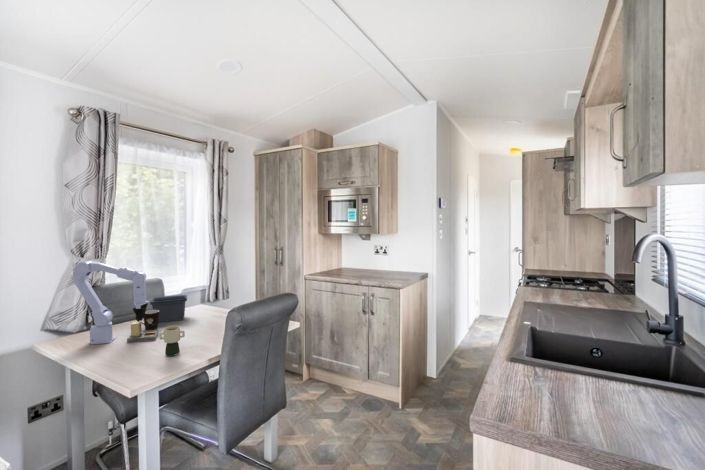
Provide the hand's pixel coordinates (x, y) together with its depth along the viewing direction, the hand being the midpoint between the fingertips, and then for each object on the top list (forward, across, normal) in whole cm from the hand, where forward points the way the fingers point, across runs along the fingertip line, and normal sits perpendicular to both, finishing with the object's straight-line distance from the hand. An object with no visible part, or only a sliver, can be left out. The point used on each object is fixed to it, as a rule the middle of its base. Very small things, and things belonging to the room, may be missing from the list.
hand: (141, 318), depth 193 cm
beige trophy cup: (+11, -32, -17) cm, 38 cm away
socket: (+11, -2, -1) cm, 11 cm away
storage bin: (+11, +34, -11) cm, 37 cm away
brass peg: (+11, -1, +2) cm, 11 cm away
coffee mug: (+11, +17, -1) cm, 20 cm away
